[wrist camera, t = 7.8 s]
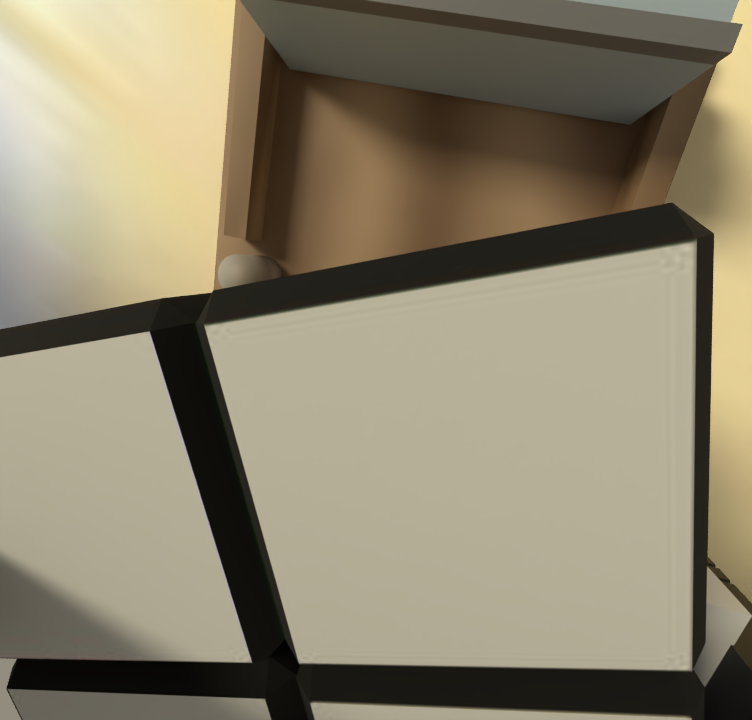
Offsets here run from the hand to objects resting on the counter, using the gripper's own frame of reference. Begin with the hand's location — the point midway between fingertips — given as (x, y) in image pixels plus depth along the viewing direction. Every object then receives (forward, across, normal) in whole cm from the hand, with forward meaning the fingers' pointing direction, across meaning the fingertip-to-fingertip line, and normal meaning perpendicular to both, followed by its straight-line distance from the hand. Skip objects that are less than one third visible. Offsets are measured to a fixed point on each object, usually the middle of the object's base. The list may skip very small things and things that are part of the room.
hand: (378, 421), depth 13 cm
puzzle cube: (+2, 0, 0) cm, 2 cm away
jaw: (+5, 0, +13) cm, 14 cm away
